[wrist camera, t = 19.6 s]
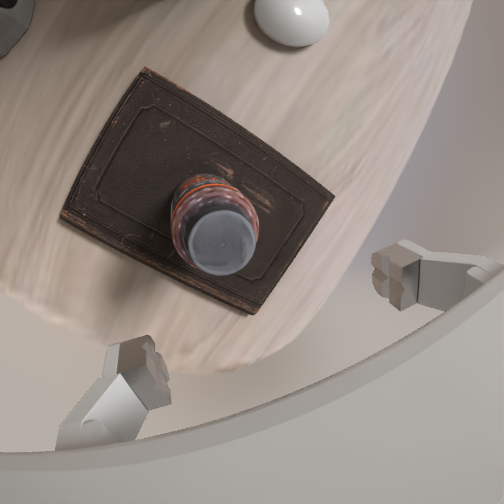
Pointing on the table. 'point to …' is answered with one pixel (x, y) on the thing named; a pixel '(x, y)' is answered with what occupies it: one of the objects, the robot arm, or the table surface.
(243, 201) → the supplement bottle
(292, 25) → the white glossy disc
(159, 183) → the hardcover book
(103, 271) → the table surface
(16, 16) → the coffeepot
